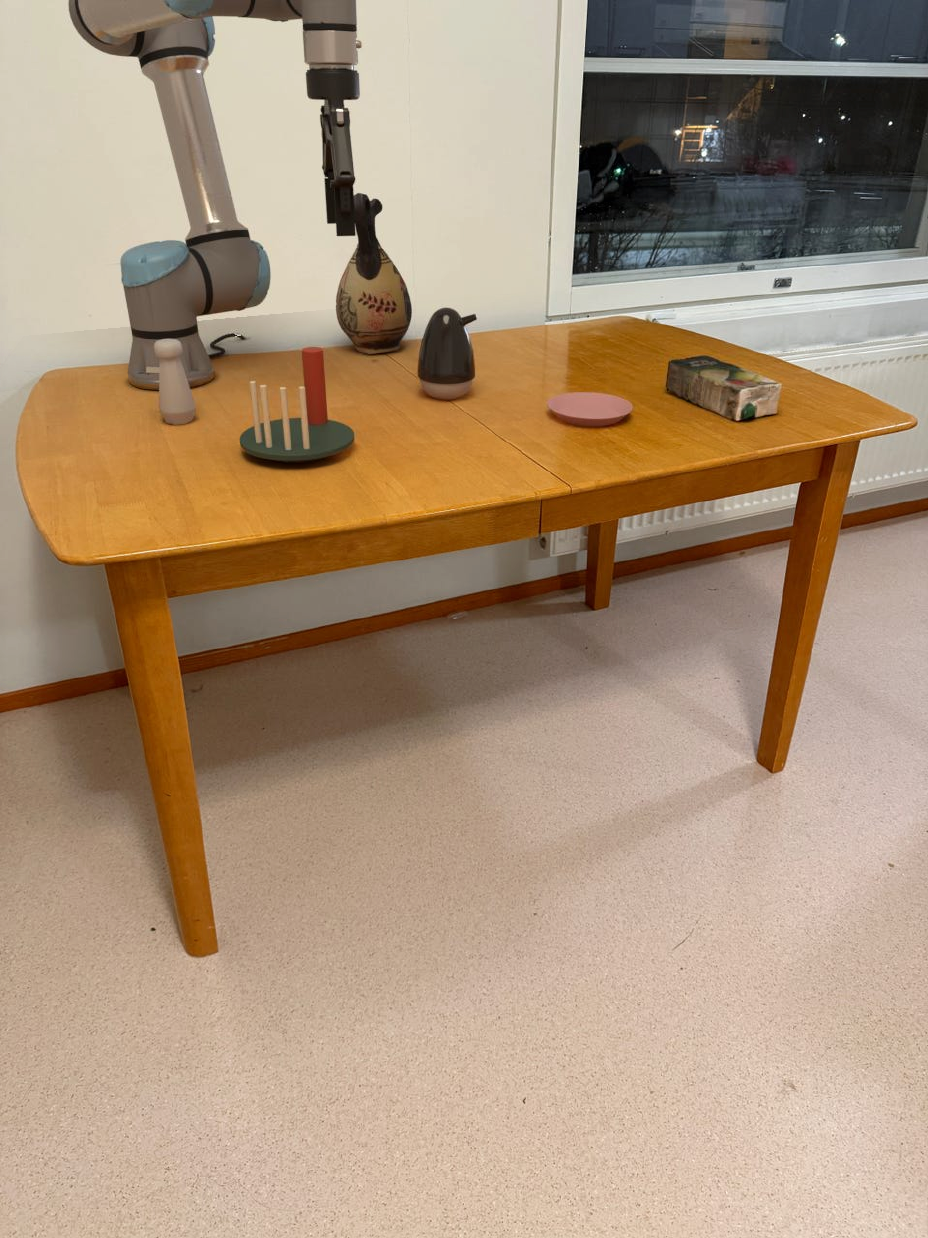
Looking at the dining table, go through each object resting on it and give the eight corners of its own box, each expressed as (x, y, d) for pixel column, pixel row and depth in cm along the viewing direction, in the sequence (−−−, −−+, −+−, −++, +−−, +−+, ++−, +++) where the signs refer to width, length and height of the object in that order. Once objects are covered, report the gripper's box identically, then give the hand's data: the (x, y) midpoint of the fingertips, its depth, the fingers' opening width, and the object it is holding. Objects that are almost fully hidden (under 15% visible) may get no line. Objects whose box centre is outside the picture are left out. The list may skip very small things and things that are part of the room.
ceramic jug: (348, 338, 199) (340, 186, 184) (418, 341, 197) (416, 188, 182) (327, 358, 184) (316, 195, 169) (403, 362, 183) (399, 197, 167)
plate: (582, 398, 163) (583, 386, 162) (648, 416, 155) (649, 405, 154) (528, 415, 155) (529, 403, 154) (595, 436, 146) (596, 423, 145)
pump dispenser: (469, 406, 159) (471, 315, 151) (411, 401, 160) (409, 312, 153) (480, 389, 167) (482, 303, 160) (425, 385, 169) (424, 299, 161)
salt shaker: (204, 417, 152) (193, 337, 145) (184, 428, 147) (172, 346, 141) (174, 413, 154) (162, 334, 147) (153, 423, 149) (140, 342, 142)
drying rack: (324, 471, 129) (318, 382, 123) (218, 457, 134) (207, 369, 127) (372, 433, 143) (368, 351, 137) (275, 421, 148) (267, 341, 141)
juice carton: (783, 415, 156) (790, 379, 153) (740, 424, 152) (745, 387, 149) (703, 385, 171) (708, 352, 168) (662, 393, 167) (665, 359, 164)
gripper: (371, 67, 120) (377, 240, 131) (347, 68, 141) (354, 217, 152) (313, 66, 119) (324, 242, 129) (298, 67, 140) (309, 218, 150)
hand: (340, 229), depth 141 cm, fingers open, 13 cm apart
